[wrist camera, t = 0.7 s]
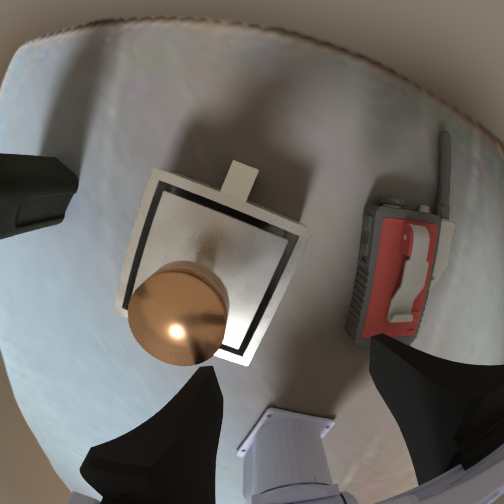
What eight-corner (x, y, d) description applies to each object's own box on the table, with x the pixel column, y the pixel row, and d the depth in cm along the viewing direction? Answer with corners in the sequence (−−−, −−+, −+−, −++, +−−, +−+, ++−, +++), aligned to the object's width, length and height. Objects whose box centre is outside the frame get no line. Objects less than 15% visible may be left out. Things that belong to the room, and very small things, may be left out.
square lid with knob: (238, 344, 18) (233, 417, 11) (132, 301, 17) (82, 353, 11) (286, 239, 16) (310, 272, 10) (166, 190, 16) (112, 192, 9)
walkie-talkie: (415, 339, 23) (444, 135, 19) (437, 361, 19) (474, 129, 14) (338, 343, 23) (363, 112, 19) (352, 372, 19) (387, 96, 14)
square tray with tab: (248, 334, 22) (247, 366, 18) (136, 289, 21) (113, 311, 17) (310, 197, 20) (326, 199, 15) (184, 147, 19) (166, 135, 14)
